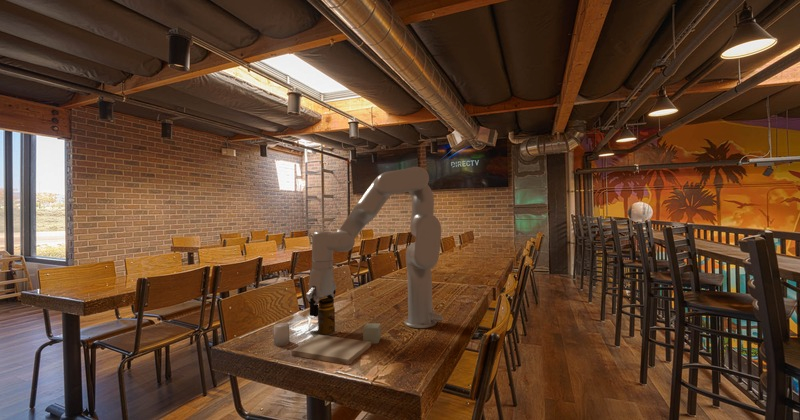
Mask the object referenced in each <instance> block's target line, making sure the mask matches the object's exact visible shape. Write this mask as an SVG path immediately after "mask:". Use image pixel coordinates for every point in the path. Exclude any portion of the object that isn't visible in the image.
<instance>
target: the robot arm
mask: <svg viewBox="0 0 800 420" xmlns="http://www.w3.org/2000/svg"><path fill="white" fill-rule="evenodd" d="M429 181H430V176H429V173H428V171H427V170H426V169H425V168H423V167H421V166H413V167H408V168H407V167H406V168H403V169H396V170H389V171H385V172H384V171H383V172H381V174H379V175H377V177H376V178H375V179H374V180H373V181H372V182H371V184H370V185H369V187H367V190H365V192H364V193H363V195H362V196H361V198H360V199H359V200H358V201H357V203H355V206H354V207H353V208H352V210H351V212H350V213H349V215H348V216H347V217H346V219H345V220H344V221H343V222H342V224H341V225H340V227H339V228H338V229H337V231H336V232H331V231H325V230H323V231H321V230H320V231H314V232H313V233H312V239H311V270H310V272H309V279H308V290H307V291H308V292H306V293H305V297H306V300H307V302H308V305H309V316H310V317H317V318H318V308H319V300H320V299H324V298H331V299H333V304H334V305H335V300H334V298H335V295H336V292H337V291H336V290H337V286H338V285H337V284H336V283H335V275H334V251H335V252H340V253H341V252H342V253H345V252H350V251H351V250H352V249H353V248H354V246H355V243H356V241H355V239H356V238H357V237H358V235H359V234H360V232H361V231H362V230H363V229H364V227H365V226H366V225H367V224H369V223H370V222H371V221H373V219H375V218H376V216H377V214H379V212H380V211H381V209H382V208H383V207H384V205H385V204H386V203H387V201H388V199H389V198H390V197H391V196H392V195H397V194H403V193H407V192H408V194H409V195H410V197H411V200H412V201H411V202H412V203H411V204H412V205H411V207H412V208H411V216H410V223H409V224H410V225H409V226H410V227H409V229H410V232H411V234H412V236H413V237H415V241H414V242H412V243H411V244H409V245H408V247H406V251H405V263H406V265H405V266H406V273H407V316H408V317H406V318H405V319H404V321H403V323H404V325H405V326H407V327H409V328H412V329H428V328H431V327H432V328H433V327H434V326H436V325H437V322H441V323H442V322H443V321H444V316H443V315H442V314H436V313H435V310H433V276H432V269H433V268H434V267H435V266H437V263H438V262H439V258H440V251H441V240H442V225H441V222H440V220H439V219H438V217H436V216H435V215H434V213H435V212H434V211H435V209H434V208H435V206H434V205H435V204H434V203H435V199H434V193H433V190H432V189H431V187H430V186H429ZM334 305H333V306H334ZM334 307H335V306H334Z"/></svg>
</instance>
